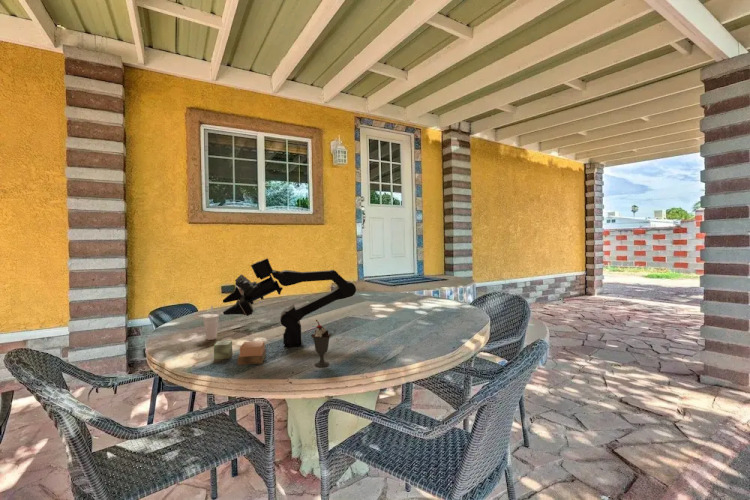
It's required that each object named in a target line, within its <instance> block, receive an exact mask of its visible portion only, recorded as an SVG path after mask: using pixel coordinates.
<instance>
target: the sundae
mask: <svg viewBox="0 0 750 500" xmlns="http://www.w3.org/2000/svg"><path fill="white" fill-rule="evenodd" d="M315 321H316V322H317V326H316V329H315V330H314V332H313V334H311V335H310V336H311V338H312V339H313V343H314V348H315V349H314V350H315V352H316V353H317V354H318V355H319V361H317V362H315V363H314V367H316V368H326V367H329V365H330V362H328V361H325V360H324V355H325V354H326V353H327V352H328V349H329V343H330V337H331V336H332V333H329V330H328V329H327V328H326V327H325V326H322V325H321V324H320V322H319V321H318V319H315Z"/></svg>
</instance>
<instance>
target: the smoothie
mask: <svg viewBox="0 0 750 500" xmlns="http://www.w3.org/2000/svg"><path fill="white" fill-rule="evenodd" d="M210 309H211V311H210V313H211V314H205V315H203V316H202V320H203V324H204V331H205V336H206V340H208V341H209V340H210V341H211V340H212V341H213V340H216V339H217V337H218V336H217V335H218V325H219V318H220V315H219V314H217V313H215V314H214V313H213V312H214V309H213V305H210Z"/></svg>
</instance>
